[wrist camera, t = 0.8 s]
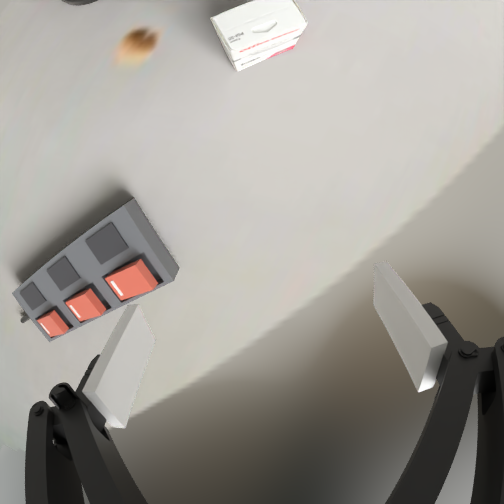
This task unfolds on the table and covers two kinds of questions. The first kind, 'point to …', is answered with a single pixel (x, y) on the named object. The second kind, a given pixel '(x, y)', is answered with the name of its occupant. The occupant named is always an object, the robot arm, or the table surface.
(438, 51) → the table surface
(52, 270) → the power strip
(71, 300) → the rocker
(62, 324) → the rocker
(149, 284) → the rocker
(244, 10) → the ink box
